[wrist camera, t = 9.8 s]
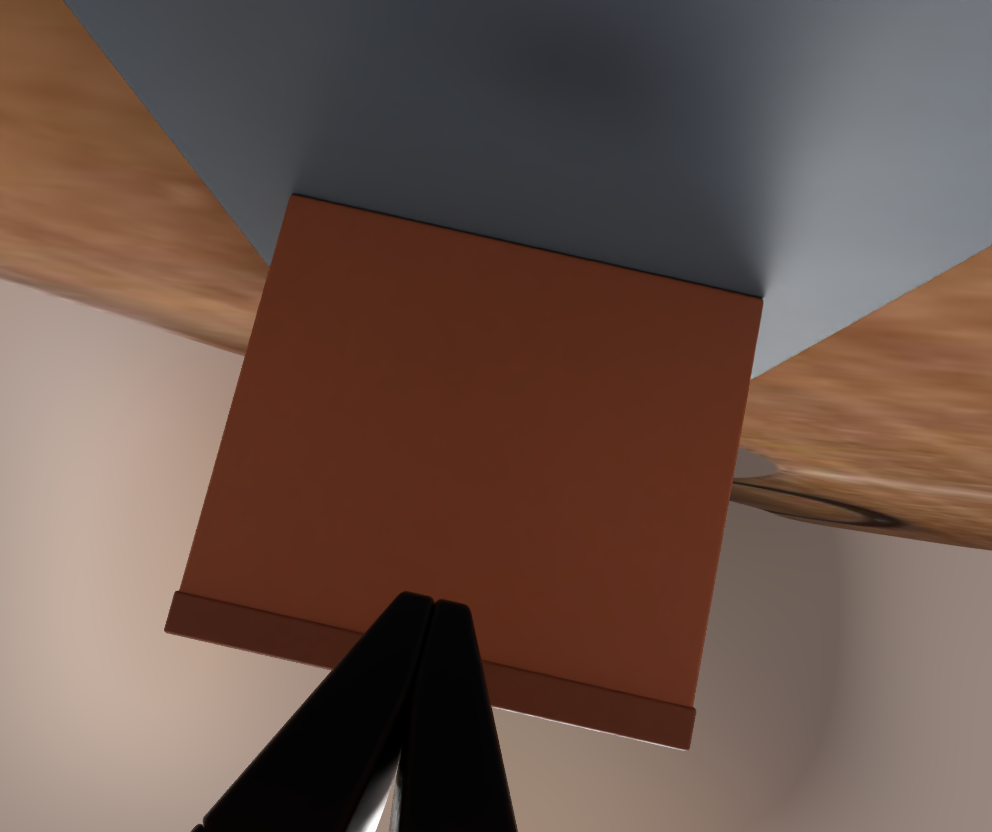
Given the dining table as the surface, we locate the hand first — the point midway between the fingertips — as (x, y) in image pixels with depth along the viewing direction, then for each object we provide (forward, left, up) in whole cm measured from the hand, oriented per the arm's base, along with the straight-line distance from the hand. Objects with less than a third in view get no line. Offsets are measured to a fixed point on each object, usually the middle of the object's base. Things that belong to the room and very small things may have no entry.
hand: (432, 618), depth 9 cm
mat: (+6, +7, -7) cm, 11 cm away
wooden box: (+8, +10, -7) cm, 14 cm away
